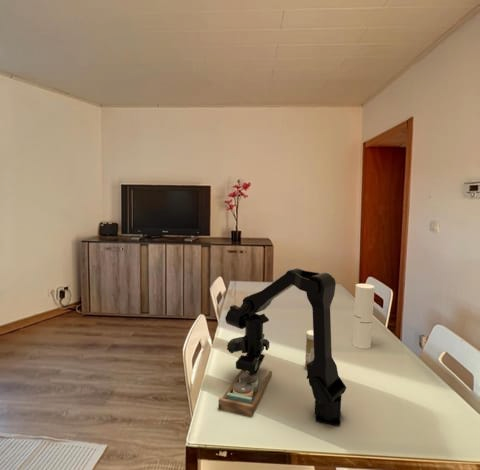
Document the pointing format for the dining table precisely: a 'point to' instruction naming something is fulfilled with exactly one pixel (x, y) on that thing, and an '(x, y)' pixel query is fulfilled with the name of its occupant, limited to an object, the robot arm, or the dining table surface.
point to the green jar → (250, 379)
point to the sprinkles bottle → (309, 347)
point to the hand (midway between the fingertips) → (253, 378)
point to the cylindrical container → (363, 316)
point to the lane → (239, 406)
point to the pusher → (239, 398)
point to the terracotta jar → (243, 389)
